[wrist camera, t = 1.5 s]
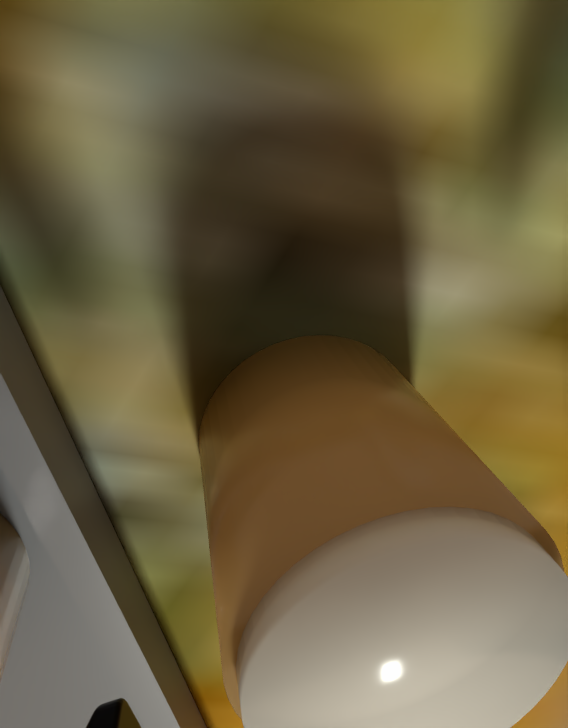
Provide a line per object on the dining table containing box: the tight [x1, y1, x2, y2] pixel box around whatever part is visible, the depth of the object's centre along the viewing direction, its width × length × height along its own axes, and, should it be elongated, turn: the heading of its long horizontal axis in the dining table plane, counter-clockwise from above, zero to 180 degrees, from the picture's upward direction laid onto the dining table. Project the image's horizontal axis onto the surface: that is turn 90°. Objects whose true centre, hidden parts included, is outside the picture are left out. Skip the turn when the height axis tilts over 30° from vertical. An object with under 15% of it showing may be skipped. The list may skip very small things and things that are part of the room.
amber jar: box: [199, 335, 568, 728], centre depth 11 cm, size 6×6×7 cm
